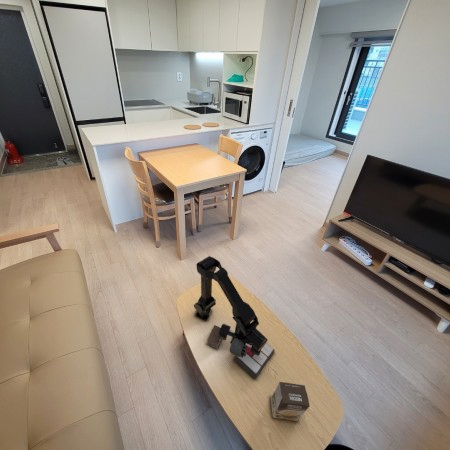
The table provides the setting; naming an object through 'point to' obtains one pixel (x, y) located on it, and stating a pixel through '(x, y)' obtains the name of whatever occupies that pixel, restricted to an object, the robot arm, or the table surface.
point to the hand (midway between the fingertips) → (238, 348)
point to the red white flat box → (255, 360)
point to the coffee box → (289, 401)
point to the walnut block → (214, 337)
